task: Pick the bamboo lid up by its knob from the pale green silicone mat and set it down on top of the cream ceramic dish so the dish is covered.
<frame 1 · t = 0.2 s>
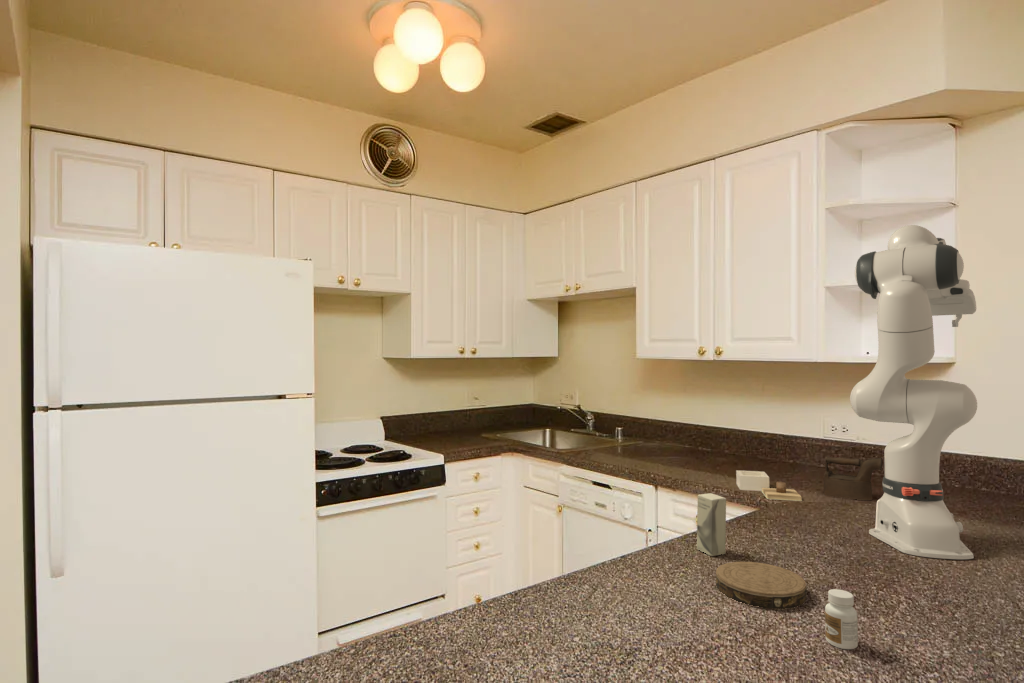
hand: (936, 326, 182), 54 cm above the countertop, tool tilted 30°, fingers open, 8 cm apart
mat: (781, 497, 179), on the countertop
pill bottle: (841, 644, 89), on the countertop
lid: (781, 495, 179), resting on mat
brown round disc: (759, 593, 109), on the countertop
dish: (752, 488, 191), on the countertop
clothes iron: (850, 498, 179), on the countertop
box: (711, 553, 130), on the countertop
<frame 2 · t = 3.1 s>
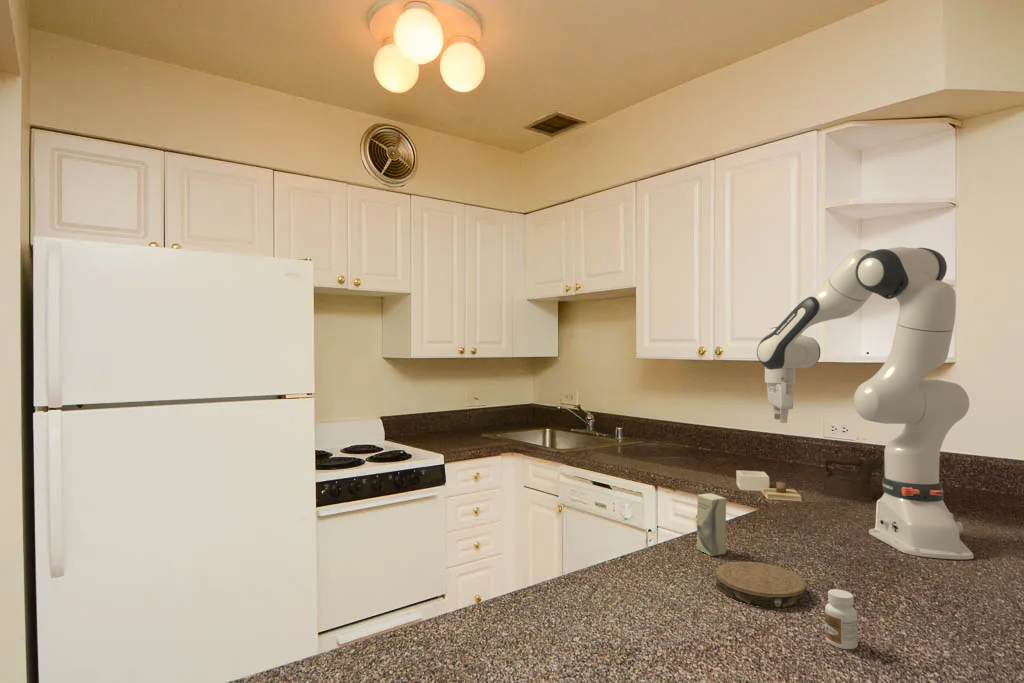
hand: (780, 421, 180), 24 cm above the countertop, tool pointing down, fingers open, 8 cm apart
nothing on the countertop moved.
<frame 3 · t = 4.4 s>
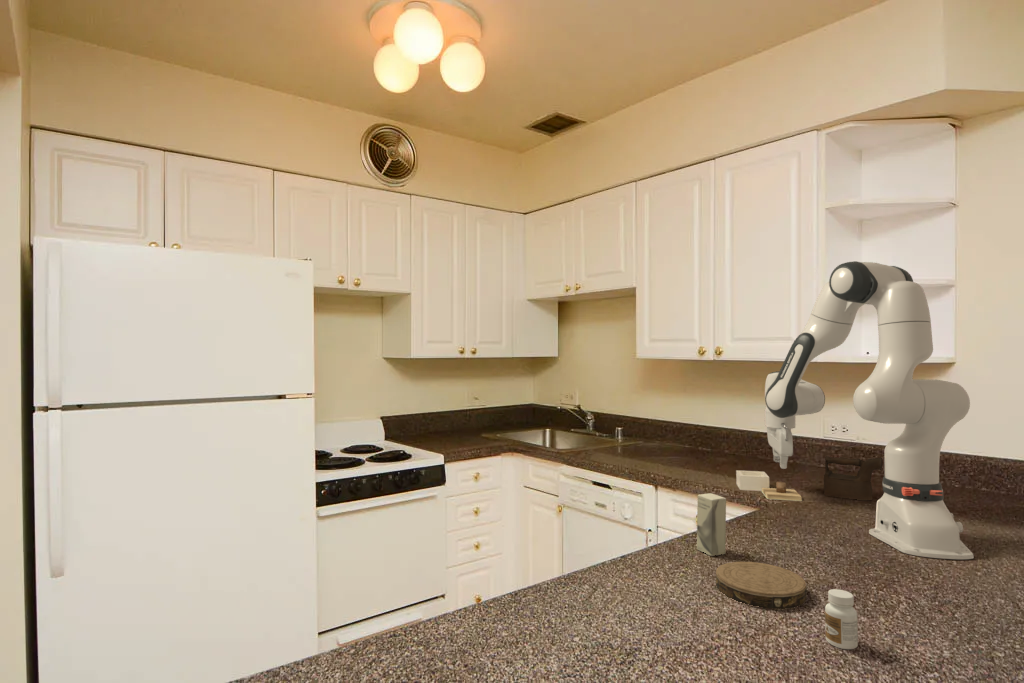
hand: (780, 464, 180), 10 cm above the countertop, tool pointing down, fingers open, 8 cm apart
nothing on the countertop moved.
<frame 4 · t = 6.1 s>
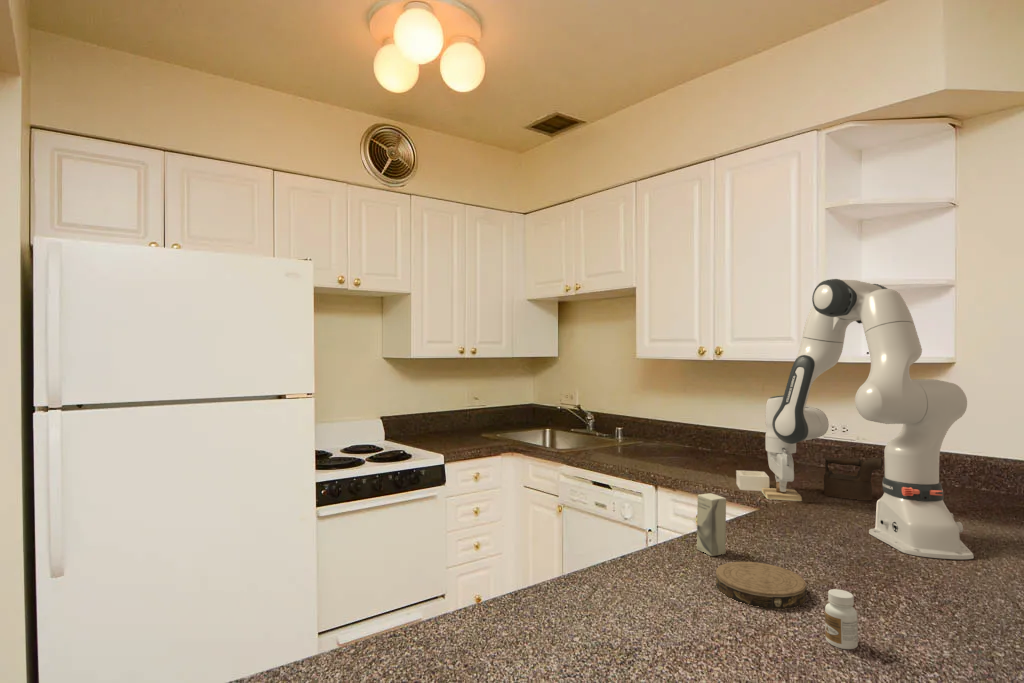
hand: (781, 489, 179), 2 cm above the countertop, tool pointing down, fingers closed on lid, 3 cm apart
lid: (781, 495, 179), resting on mat, touching gripper
everything else where it was.
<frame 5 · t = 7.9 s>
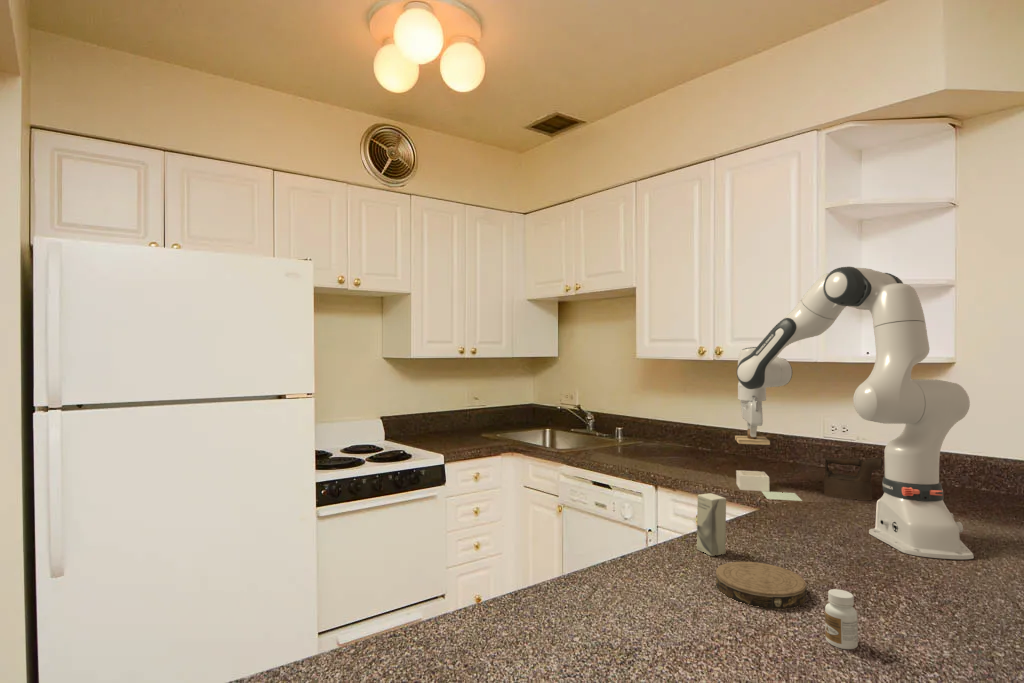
hand: (752, 435, 191), 18 cm above the countertop, tool pointing down, fingers closed on lid, 3 cm apart
lid: (751, 441, 191), point 16 cm above the countertop, touching gripper
everything else where it was.
when the fingers open (8 cm above the countertop, at t = 10.2 s): lid drops 1 cm, resting on dish.
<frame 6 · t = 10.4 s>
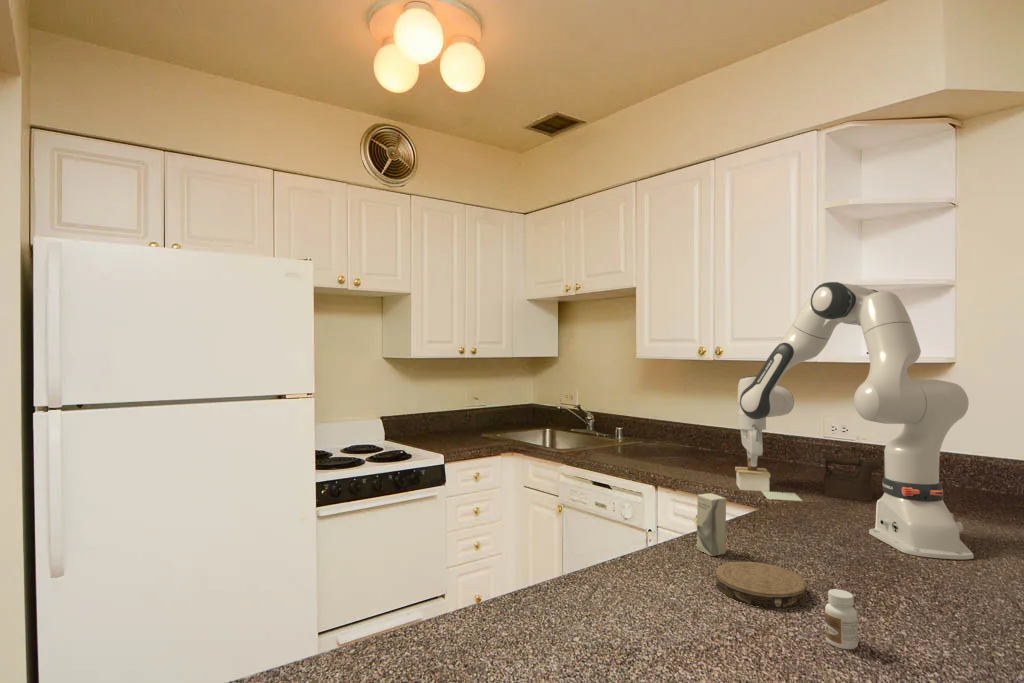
hand: (752, 464, 191), 8 cm above the countertop, tool pointing down, fingers open, 4 cm apart
lid: (752, 473, 191), point 5 cm above the countertop, touching dish
everything else where it was.
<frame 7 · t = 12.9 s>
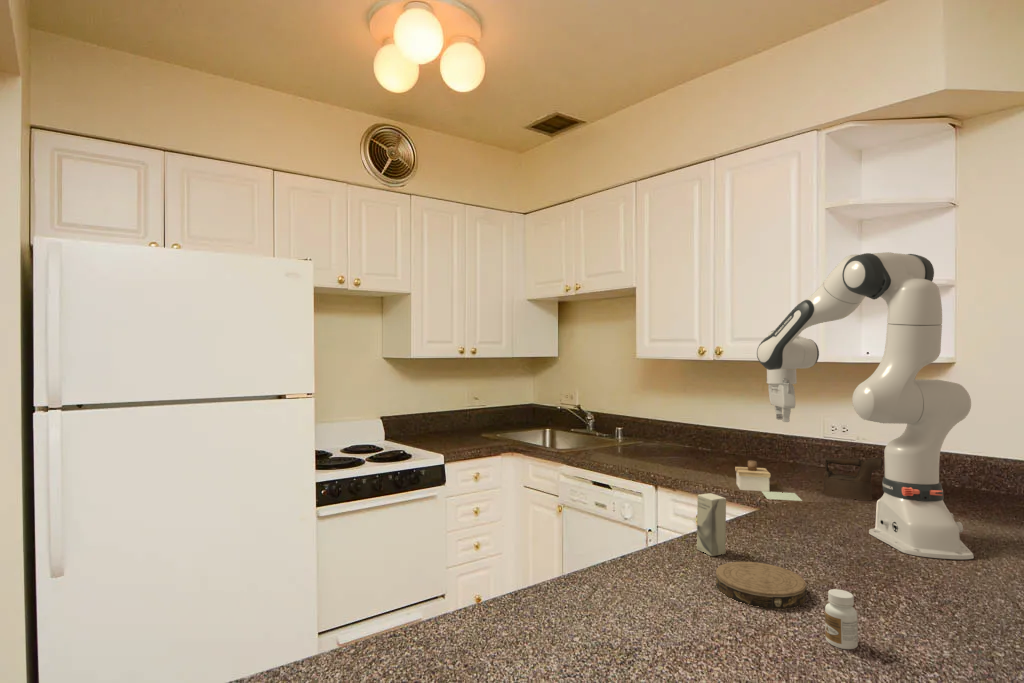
hand: (782, 420, 186), 23 cm above the countertop, tool pointing down, fingers open, 8 cm apart
nothing on the countertop moved.
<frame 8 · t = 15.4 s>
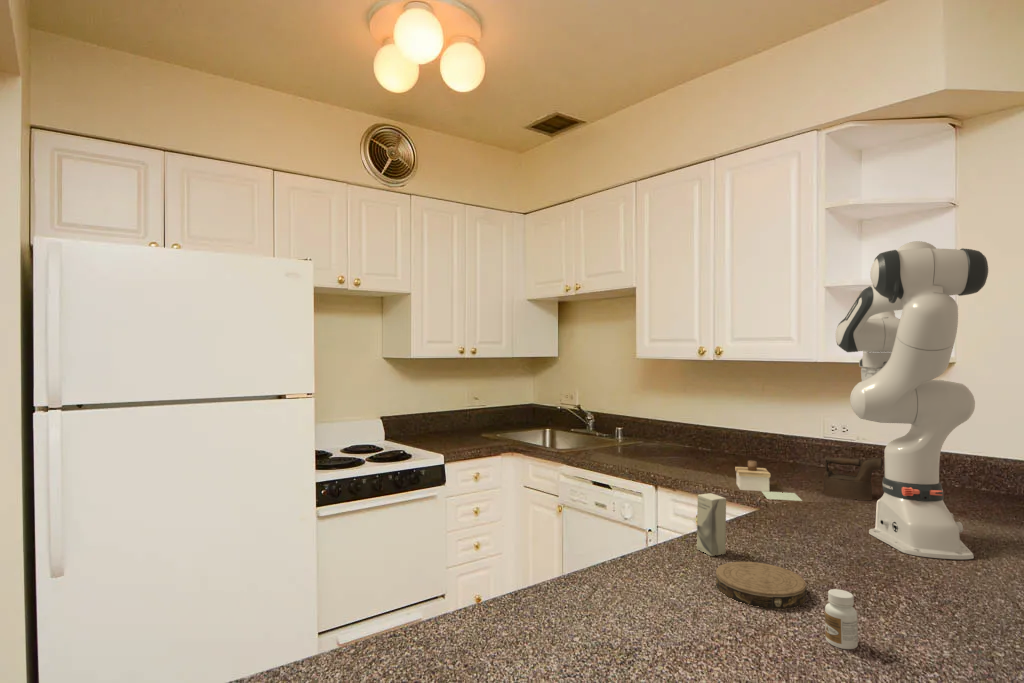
hand: (880, 407, 172), 29 cm above the countertop, tool pointing down, fingers open, 8 cm apart
nothing on the countertop moved.
at the end: lid 0.1 cm off-centre on the dish, point 5.0 cm above the dish's base; lid tilted 0°; the gripper is holding nothing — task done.
